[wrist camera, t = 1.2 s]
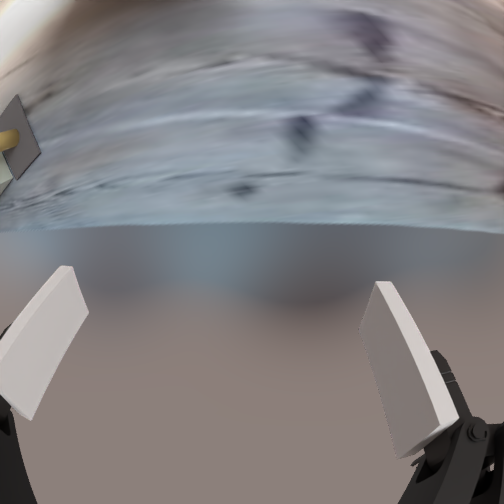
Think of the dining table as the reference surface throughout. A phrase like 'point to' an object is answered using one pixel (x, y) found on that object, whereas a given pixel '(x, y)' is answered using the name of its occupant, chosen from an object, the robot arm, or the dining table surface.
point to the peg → (9, 139)
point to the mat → (27, 144)
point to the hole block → (4, 173)
